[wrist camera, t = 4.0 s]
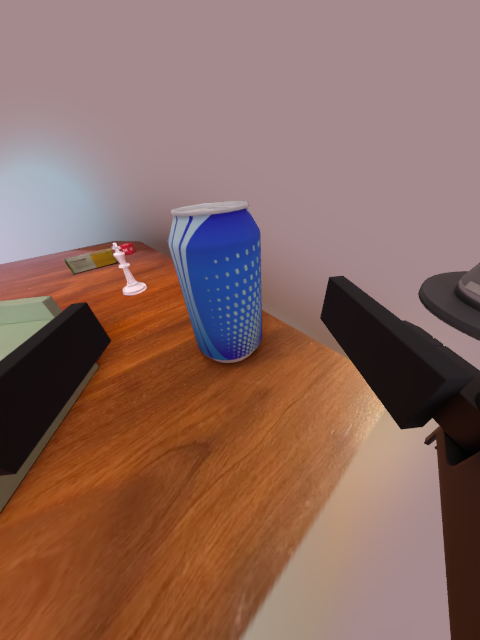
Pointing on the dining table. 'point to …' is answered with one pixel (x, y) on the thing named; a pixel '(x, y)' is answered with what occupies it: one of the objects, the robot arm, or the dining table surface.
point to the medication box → (90, 260)
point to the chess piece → (128, 274)
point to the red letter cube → (127, 248)
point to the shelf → (5, 336)
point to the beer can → (220, 276)
